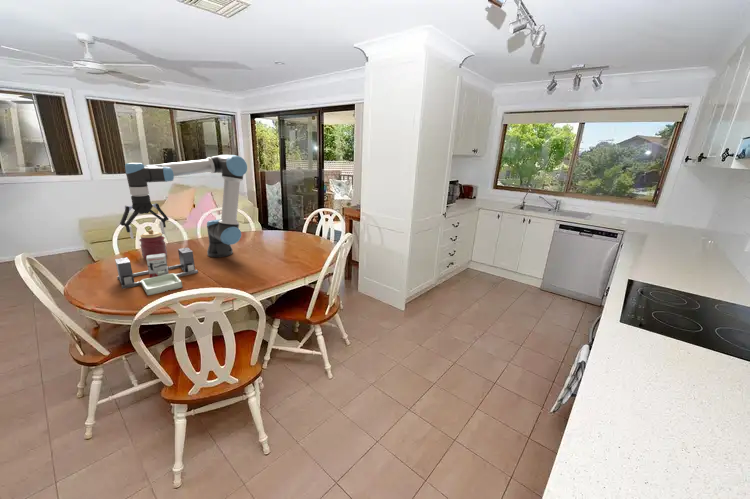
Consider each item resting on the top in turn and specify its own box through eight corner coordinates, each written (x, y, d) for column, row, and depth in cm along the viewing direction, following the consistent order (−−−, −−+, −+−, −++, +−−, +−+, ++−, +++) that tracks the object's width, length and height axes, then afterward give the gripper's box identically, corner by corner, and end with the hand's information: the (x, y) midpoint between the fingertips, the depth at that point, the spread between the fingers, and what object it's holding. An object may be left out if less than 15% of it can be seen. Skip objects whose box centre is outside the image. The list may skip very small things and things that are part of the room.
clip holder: (190, 265, 185) (187, 246, 181) (198, 272, 175) (195, 252, 171) (117, 279, 162) (112, 257, 158) (122, 288, 152) (117, 266, 148)
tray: (174, 278, 166) (174, 272, 165) (182, 287, 156) (181, 281, 155) (141, 285, 156) (140, 279, 155) (147, 295, 146) (146, 289, 146)
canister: (144, 261, 187) (138, 233, 182) (141, 255, 196) (136, 228, 191) (169, 257, 195) (164, 230, 190) (165, 252, 204) (161, 226, 199)
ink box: (149, 279, 164) (145, 258, 160) (150, 275, 168) (146, 255, 164) (168, 276, 169) (165, 255, 165) (168, 273, 173) (165, 253, 169)
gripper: (166, 192, 165) (173, 230, 172) (106, 196, 148) (116, 238, 154) (171, 193, 161) (177, 233, 167) (109, 198, 143) (119, 242, 150)
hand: (148, 235), depth 161 cm, fingers open, 13 cm apart
